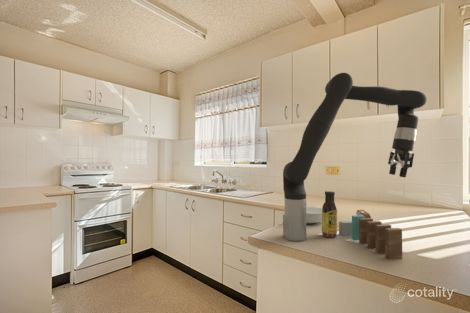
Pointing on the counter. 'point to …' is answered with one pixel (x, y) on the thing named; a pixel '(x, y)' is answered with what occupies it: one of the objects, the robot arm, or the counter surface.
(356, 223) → the domino
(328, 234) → the sauce bottle
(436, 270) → the counter surface
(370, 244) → the domino
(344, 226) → the block
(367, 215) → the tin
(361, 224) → the domino
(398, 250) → the domino
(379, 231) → the domino
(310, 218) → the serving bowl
